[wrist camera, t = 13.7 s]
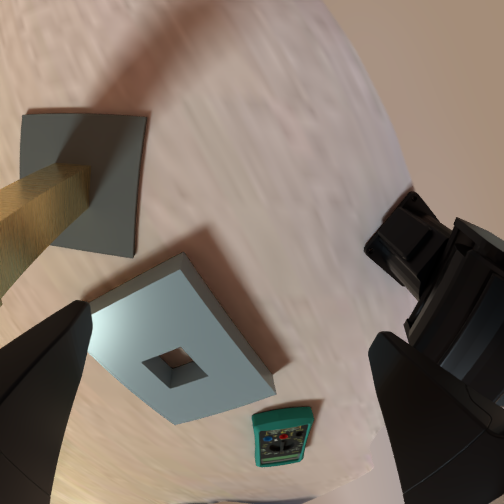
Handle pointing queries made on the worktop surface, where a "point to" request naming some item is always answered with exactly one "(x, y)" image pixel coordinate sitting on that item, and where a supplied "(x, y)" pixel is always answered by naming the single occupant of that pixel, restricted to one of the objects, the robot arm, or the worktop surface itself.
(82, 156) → the rubber mat
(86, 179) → the brass key
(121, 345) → the block
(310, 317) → the worktop surface
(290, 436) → the digital multimeter
